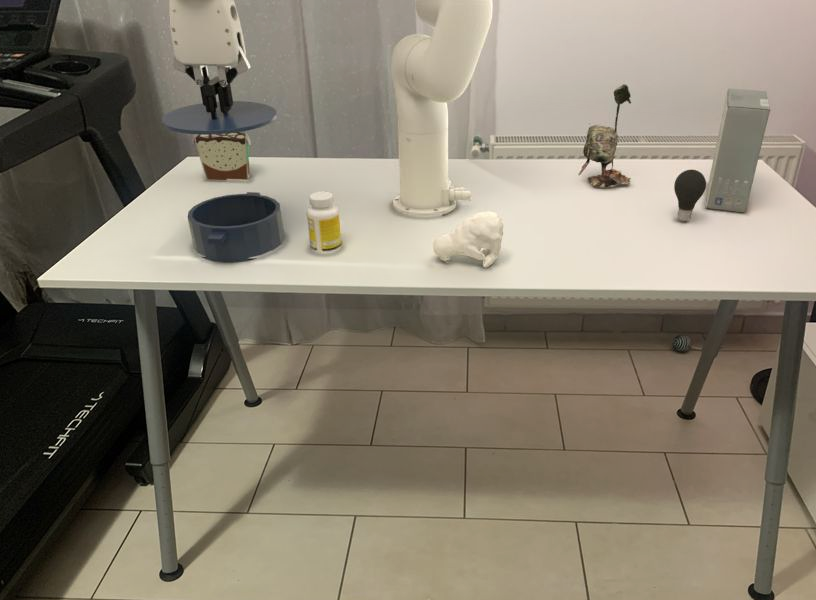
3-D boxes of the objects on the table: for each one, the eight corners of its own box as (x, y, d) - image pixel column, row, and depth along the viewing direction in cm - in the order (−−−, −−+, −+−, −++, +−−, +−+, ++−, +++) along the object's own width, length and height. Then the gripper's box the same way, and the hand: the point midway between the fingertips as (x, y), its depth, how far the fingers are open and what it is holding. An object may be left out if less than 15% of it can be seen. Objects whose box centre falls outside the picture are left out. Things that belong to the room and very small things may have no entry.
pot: (298, 221, 136) (294, 189, 133) (265, 271, 119) (260, 236, 115) (218, 219, 137) (212, 187, 134) (174, 268, 120) (166, 233, 116)
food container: (264, 172, 159) (257, 127, 154) (255, 182, 154) (248, 135, 149) (210, 170, 160) (202, 125, 155) (200, 180, 155) (190, 134, 150)
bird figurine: (576, 175, 158) (585, 81, 147) (628, 177, 157) (642, 82, 146) (577, 188, 151) (587, 90, 140) (632, 190, 150) (646, 92, 139)
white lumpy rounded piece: (503, 219, 115) (428, 225, 115) (506, 267, 119) (434, 273, 120) (501, 205, 120) (430, 210, 121) (504, 251, 125) (435, 256, 125)
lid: (290, 109, 124) (285, 69, 120) (258, 140, 109) (252, 95, 105) (189, 106, 125) (181, 67, 121) (143, 136, 110) (133, 92, 106)
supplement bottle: (347, 244, 128) (342, 192, 122) (333, 257, 123) (327, 203, 118) (319, 240, 129) (314, 188, 124) (305, 252, 125) (298, 199, 119)
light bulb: (700, 218, 137) (711, 167, 132) (696, 229, 133) (706, 177, 128) (671, 214, 139) (680, 163, 134) (665, 224, 135) (674, 172, 130)
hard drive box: (746, 214, 139) (770, 109, 128) (705, 209, 141) (726, 106, 130) (745, 187, 152) (767, 89, 141) (707, 183, 154) (726, 86, 143)
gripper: (258, -19, 108) (273, 106, 118) (157, -20, 110) (181, 103, 120) (241, -13, 102) (259, 118, 112) (135, -15, 103) (162, 115, 113)
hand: (219, 109), depth 116 cm, fingers closed on lid
